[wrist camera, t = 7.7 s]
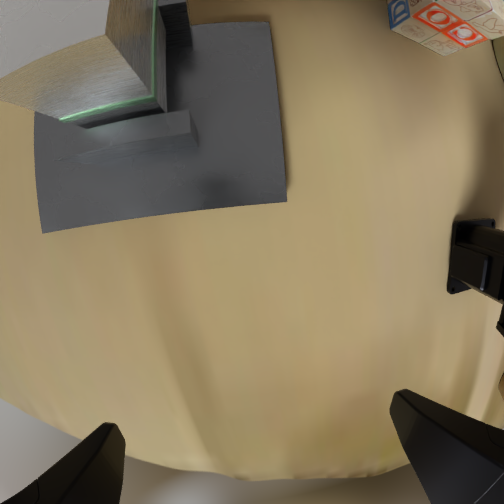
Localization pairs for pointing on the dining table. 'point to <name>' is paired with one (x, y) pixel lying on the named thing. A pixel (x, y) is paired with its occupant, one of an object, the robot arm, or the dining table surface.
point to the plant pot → (502, 386)
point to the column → (84, 59)
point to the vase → (499, 52)
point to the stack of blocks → (447, 22)
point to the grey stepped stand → (174, 136)
